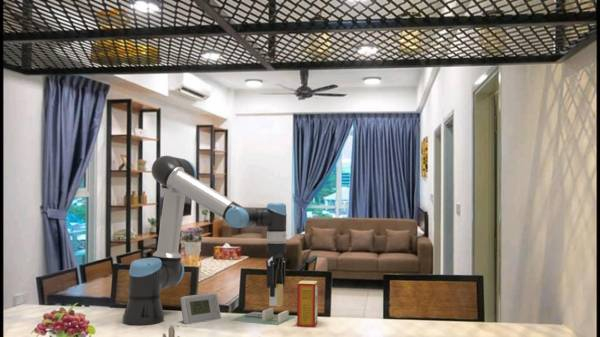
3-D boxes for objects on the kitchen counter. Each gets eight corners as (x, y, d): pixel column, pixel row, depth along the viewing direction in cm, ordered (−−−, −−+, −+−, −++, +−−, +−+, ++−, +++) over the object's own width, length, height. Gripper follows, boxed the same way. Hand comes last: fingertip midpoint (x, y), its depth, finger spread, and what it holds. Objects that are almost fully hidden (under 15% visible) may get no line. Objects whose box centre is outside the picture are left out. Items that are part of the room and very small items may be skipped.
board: (229, 323, 183) (230, 310, 183) (251, 315, 198) (251, 303, 199) (277, 328, 175) (277, 315, 175) (296, 319, 190) (296, 307, 191)
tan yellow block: (269, 306, 184) (269, 283, 185) (273, 304, 188) (273, 282, 189) (278, 306, 183) (278, 284, 184) (283, 305, 186) (283, 283, 187)
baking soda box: (300, 321, 188) (301, 279, 189) (317, 322, 187) (317, 279, 189) (297, 326, 178) (297, 282, 180) (314, 327, 178) (315, 283, 179)
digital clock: (183, 328, 174) (184, 298, 175) (175, 323, 182) (176, 294, 183) (225, 323, 183) (225, 294, 184) (215, 319, 191) (216, 291, 192)
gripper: (275, 243, 178) (275, 308, 176) (294, 242, 194) (293, 301, 192) (257, 243, 181) (256, 307, 179) (277, 241, 197) (276, 300, 195)
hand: (275, 304), depth 185 cm, fingers closed on tan yellow block, 4 cm apart
